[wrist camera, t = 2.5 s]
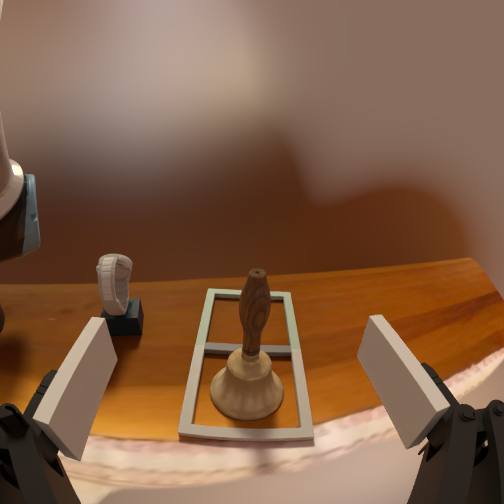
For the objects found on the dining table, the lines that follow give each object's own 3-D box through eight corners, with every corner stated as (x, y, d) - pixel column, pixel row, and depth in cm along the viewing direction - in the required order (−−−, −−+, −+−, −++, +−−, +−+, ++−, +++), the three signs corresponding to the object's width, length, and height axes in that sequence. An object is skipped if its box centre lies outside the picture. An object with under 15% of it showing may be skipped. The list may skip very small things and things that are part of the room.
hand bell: (294, 379, 30) (321, 262, 23) (263, 432, 23) (285, 319, 16) (233, 354, 33) (236, 239, 26) (195, 399, 27) (177, 279, 19)
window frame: (179, 435, 22) (177, 432, 22) (208, 292, 45) (208, 288, 45) (312, 439, 22) (314, 436, 22) (289, 296, 45) (290, 292, 45)
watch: (144, 307, 40) (132, 243, 35) (141, 343, 33) (124, 273, 28) (111, 308, 39) (95, 246, 34) (103, 344, 32) (80, 276, 27)
